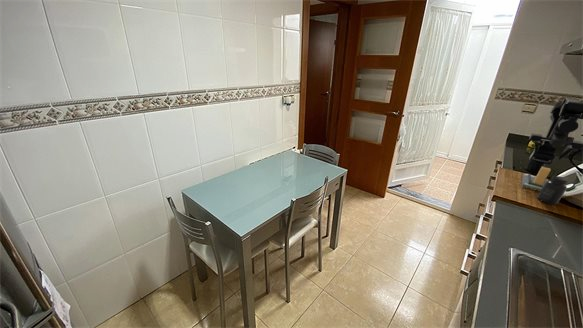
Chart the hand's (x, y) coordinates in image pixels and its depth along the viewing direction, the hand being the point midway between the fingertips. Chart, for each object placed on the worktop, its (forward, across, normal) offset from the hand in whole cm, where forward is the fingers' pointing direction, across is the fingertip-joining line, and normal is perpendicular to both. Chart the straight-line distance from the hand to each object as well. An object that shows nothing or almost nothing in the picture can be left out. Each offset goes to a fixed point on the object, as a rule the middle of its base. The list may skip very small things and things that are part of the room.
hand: (546, 156), depth 122 cm
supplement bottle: (+13, +4, -26) cm, 29 cm away
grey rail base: (+13, 0, -9) cm, 16 cm away
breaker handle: (+11, 0, -13) cm, 17 cm away
